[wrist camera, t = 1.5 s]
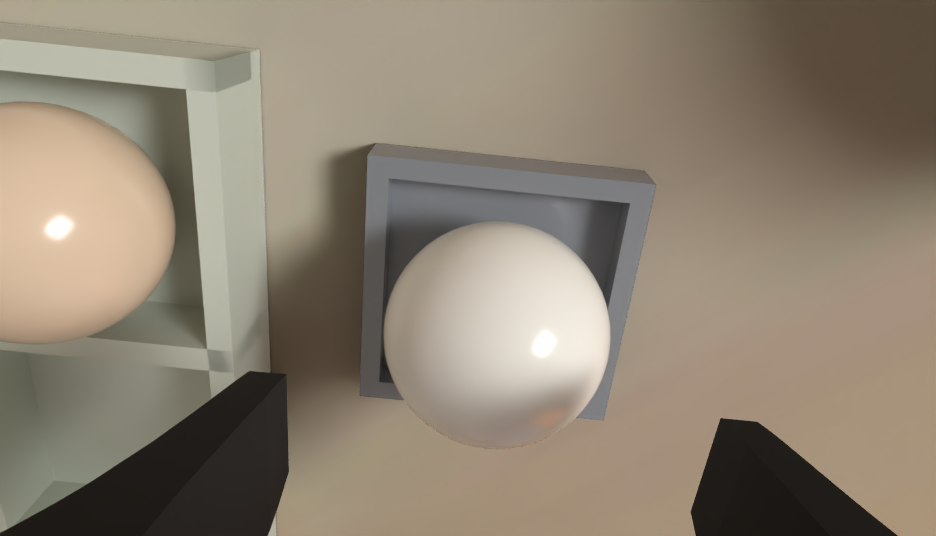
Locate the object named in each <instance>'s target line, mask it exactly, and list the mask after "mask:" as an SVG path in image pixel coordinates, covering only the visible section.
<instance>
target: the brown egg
mask: <svg viewBox="0 0 936 536" xmlns="http://www.w3.org/2000/svg"><path fill="white" fill-rule="evenodd" d="M175 235H176V223H175V213H174V207H173V202H172V199H171V195H170V192H169V190H168V187H167V185H166V183H165V180H164V179H163V177H162V175H161V173H160V172H159V170H158V168H157V167H156V165H155V164H154V163H153V161H152V160H151V159H150V157H149V156H148V155H147V154H146V153H145V152H144V151H143V150H142V148H141V147H140V146H139V145H137V144H136V143H135V142H134V141H133V140H132V139H131V138H130V137H128V136H127V135H125V134H124V133H123V132H121V131H120V130H118V129H117V128H115V127H114V126H112V125H110V124H108V123H106V122H105V121H103V120H101V119H99V118H97V117H95V116H93V115H90V114H88V113H85V112H83V111H79V110H76V109H73V108H69V107H65V106H62V105H57V104H51V103H45V102H25V101H15V102H5V103H0V341H2V342H8V343H17V344H34V345H39V344H52V343H62V342H67V341H72V340H76V339H80V338H83V337H87V336H89V335H92V334H95V333H98V332H100V331H102V330H104V329H106V328H108V327H110V326H112V325H114V324H116V323H118V322H120V321H121V320H123V319H124V318H125V317H127V316H128V315H129V314H131V313H132V312H133V311H135V310H136V309H137V308H139V307H140V305H141V304H142V303H143V302H144V301H145V300H146V299H147V298H148V297H149V296H150V295H151V294H152V293H153V291H154V290H155V289H156V287H157V286H158V284H159V283H160V281H161V279H162V278H163V276H164V274H165V272H166V270H167V267H168V265H169V263H170V259H171V256H172V252H173V248H174V244H175Z"/></svg>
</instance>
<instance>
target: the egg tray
mask: <svg viewBox="0 0 936 536" xmlns="http://www.w3.org/2000/svg"><path fill="white" fill-rule="evenodd" d="M15 101H25V102H45V103H51V104H57V105H62V106H65V107H69V108H73V109H76V110H79V111H83V112H85V113H88V114H90V115H93V116H95V117H97V118H99V119H101V120H103V121H105V122H106V123H108V124H110V125H112V126H114V127H115V128H117V129H118V130H120V131H121V132H123V133H124V134H125V135H127V136H128V137H130V138H131V139H132V140H133V141H134V142H135V143H136V144H137V145H139V146H140V147H141V148H142V150H143V151H144V152H145V153H146V154H147V155H148V156H149V157H150V159H151V160H152V161H153V163H154V164H155V165H156V167H157V168H158V170H159V172H160V173H161V175H162V177H163V179H164V180H165V183H166V185H167V187H168V190H169V192H170V195H171V199H172V202H173V207H174V213H175V223H176V235H175V244H174V248H173V252H172V256H171V259H170V263H169V265H168V267H167V270H166V272H165V274H164V276H163V278H162V279H161V281H160V283H159V284H158V286H157V287H156V289H155V290H154V291H153V293H152V294H151V295H150V296H149V297H148V298H147V299H146V300H145V301H144V302H143V303H142V304H141V305H140V307H139V308H137V309H136V310H135V311H133V312H132V313H131V314H129V315H128V316H127V317H125V318H124V319H123V320H121V321H120V322H118V323H116V324H114V325H112V326H110V327H108V328H106V329H104V330H102V331H100V332H98V333H95V334H92V335H89V336H87V337H83V338H80V339H76V340H72V341H67V342H62V343H52V344H39V345H34V344H17V343H8V342H2V341H0V533H1V532H3V531H4V530H6V529H8V528H10V527H12V526H14V525H16V524H18V523H20V522H21V521H23V520H25V519H27V518H29V517H30V516H32V515H34V514H36V513H38V512H40V511H41V510H43V509H45V508H47V507H49V506H50V505H52V504H54V503H56V502H58V501H59V500H61V499H63V498H64V497H66V496H68V495H70V494H71V493H73V492H75V491H76V490H78V489H80V488H81V487H83V486H85V485H86V484H88V483H90V482H91V481H93V480H94V479H96V478H97V477H99V476H100V475H102V474H104V473H105V472H107V471H108V470H110V469H111V468H113V467H114V466H116V465H117V464H119V463H120V462H122V461H123V460H125V459H126V458H128V457H130V456H131V455H133V454H134V453H136V452H137V451H139V450H140V449H142V448H143V447H145V446H146V445H148V444H149V443H151V442H152V441H154V440H155V439H157V438H158V437H159V436H161V435H162V434H164V433H165V432H166V431H168V430H169V429H171V428H172V427H173V426H175V425H176V424H178V423H179V422H180V421H182V420H183V419H185V418H186V417H187V416H189V415H190V414H191V413H193V412H194V411H195V410H197V409H198V408H200V407H201V406H202V405H204V404H205V403H206V402H208V401H209V400H210V399H212V398H213V397H214V396H216V395H217V394H218V393H220V392H221V391H222V390H224V389H225V388H226V387H228V386H229V385H230V384H232V383H233V382H234V381H236V380H237V379H239V378H240V377H241V376H243V375H244V374H246V373H247V372H249V371H256V372H266V373H271V369H270V340H269V312H268V283H267V255H266V227H265V198H264V170H263V141H262V113H261V84H260V56H259V49H250V48H241V47H231V46H222V45H212V44H202V43H193V42H183V41H174V40H164V39H155V38H145V37H136V36H126V35H117V34H107V33H97V32H88V31H78V30H69V29H59V28H50V27H40V26H31V25H21V24H11V23H2V22H0V103H5V102H15ZM268 536H276V514H275V517H274V520H273V523H272V526H271V529H270V531H269V534H268Z"/></svg>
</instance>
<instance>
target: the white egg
mask: <svg viewBox="0 0 936 536" xmlns="http://www.w3.org/2000/svg"><path fill="white" fill-rule="evenodd" d="M383 330H384V350H385V356H386V361H387V364H388V367H389V371H390V374H391V376H392V379H393V382H394V384H395V386H396V388H397V390H398V392H399V393H400V395H401V396H402V397H403V399H404V400H405V402H406V403H407V405H408V406H409V407H410V409H411V410H412V411H413V412H414V413H415V414H416V415H417V416H418V417H419V418H420V419H421V420H422V421H423V422H425V423H426V424H427V425H428V426H430V427H431V428H433V429H434V430H436V431H437V432H439V433H440V434H442V435H444V436H446V437H448V438H449V439H451V440H454V441H457V442H459V443H462V444H465V445H469V446H473V447H479V448H485V449H510V448H516V447H522V446H526V445H530V444H533V443H536V442H538V441H541V440H543V439H546V438H547V437H549V436H551V435H553V434H555V433H556V432H558V431H559V430H561V429H562V428H564V427H565V426H566V425H568V424H569V423H570V422H571V421H573V420H574V419H575V418H576V417H577V416H578V415H579V414H580V413H581V412H582V410H583V409H584V408H585V407H586V406H587V404H588V403H589V401H590V400H591V398H592V397H593V395H594V394H595V392H596V391H597V389H598V387H599V384H600V382H601V380H602V378H603V375H604V372H605V368H606V365H607V362H608V357H609V350H610V321H609V315H608V310H607V305H606V302H605V299H604V296H603V293H602V291H601V289H600V287H599V285H598V283H597V281H596V279H595V277H594V276H593V274H592V272H591V271H590V270H589V268H588V267H587V265H586V264H585V263H584V262H583V261H582V260H581V259H580V257H579V256H578V255H577V254H576V253H575V252H574V251H573V250H571V249H570V248H569V247H568V246H566V245H565V244H564V243H563V242H562V241H560V240H558V239H557V238H555V237H553V236H552V235H550V234H548V233H546V232H544V231H541V230H539V229H537V228H534V227H530V226H527V225H524V224H519V223H513V222H503V221H490V222H479V223H475V224H470V225H465V226H463V227H460V228H457V229H454V230H451V231H449V232H447V233H445V234H443V235H441V236H439V237H438V238H436V239H435V240H433V241H432V242H430V243H429V244H428V245H426V246H425V247H424V248H423V249H422V250H421V251H420V252H419V253H417V254H416V255H415V256H414V258H413V259H412V260H411V261H410V262H409V263H408V265H407V266H406V267H405V269H404V270H403V272H402V273H401V275H400V276H399V278H398V280H397V282H396V284H395V286H394V288H393V291H392V293H391V295H390V298H389V301H388V305H387V309H386V314H385V321H384V329H383Z"/></svg>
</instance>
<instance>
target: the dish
mask: <svg viewBox="0 0 936 536" xmlns="http://www.w3.org/2000/svg"><path fill="white" fill-rule="evenodd" d="M655 189H656V184H655V182H654V181H653V180H652V179H651V178H650V176H649V175H648V174H647V173H646V172H645V171H641V170H631V169H621V168H612V167H602V166H593V165H583V164H573V163H564V162H554V161H544V160H535V159H525V158H516V157H506V156H496V155H487V154H477V153H467V152H458V151H448V150H438V149H429V148H419V147H410V146H400V145H390V144H381V143H376V144H375V146H374V147H373V148H372V150H371V151H370V152H369V154H368V158H367V188H366V219H365V250H364V280H363V311H362V341H361V372H360V396H366V397H376V398H386V399H396V400H404V399H403V397H402V396H401V395H400V393H399V392H398V390H397V388H396V386H395V384H394V382H393V379H392V376H391V374H390V371H389V367H388V364H387V361H386V356H385V350H384V330H383V329H384V321H385V314H386V309H387V305H388V301H389V298H390V295H391V293H392V291H393V288H394V286H395V284H396V282H397V280H398V278H399V276H400V275H401V273H402V272H403V270H404V269H405V267H406V266H407V265H408V263H409V262H410V261H411V260H412V259H413V258H414V256H415V255H416V254H417V253H419V252H420V251H421V250H422V249H423V248H424V247H425V246H426V245H428V244H429V243H430V242H432V241H433V240H435V239H436V238H438V237H439V236H441V235H443V234H445V233H447V232H449V231H451V230H454V229H457V228H460V227H463V226H465V225H470V224H475V223H479V222H490V221H503V222H513V223H519V224H524V225H527V226H530V227H534V228H537V229H539V230H541V231H544V232H546V233H548V234H550V235H552V236H553V237H555V238H557V239H558V240H560V241H562V242H563V243H564V244H565V245H566V246H568V247H569V248H570V249H571V250H573V251H574V252H575V253H576V254H577V255H578V256H579V257H580V259H581V260H582V261H583V262H584V263H585V264H586V265H587V267H588V268H589V270H590V271H591V272H592V274H593V276H594V277H595V279H596V281H597V283H598V285H599V287H600V289H601V291H602V293H603V296H604V299H605V302H606V305H607V310H608V315H609V321H610V350H609V357H608V362H607V365H606V368H605V372H604V375H603V378H602V380H601V382H600V384H599V387H598V389H597V391H596V392H595V394H594V395H593V397H592V398H591V400H590V401H589V403H588V404H587V406H586V407H585V408H584V409H583V410H582V412H581V413H580V414H579V415H578V416H577V417H576V418H584V419H594V420H603V421H604V416H605V412H606V407H607V403H608V398H609V394H610V389H611V385H612V381H613V376H614V372H615V367H616V363H617V358H618V354H619V349H620V345H621V340H622V336H623V332H624V327H625V323H626V318H627V314H628V309H629V305H630V300H631V296H632V291H633V287H634V283H635V278H636V274H637V269H638V265H639V260H640V256H641V251H642V247H643V242H644V238H645V234H646V229H647V225H648V220H649V216H650V211H651V207H652V202H653V198H654V193H655Z"/></svg>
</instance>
